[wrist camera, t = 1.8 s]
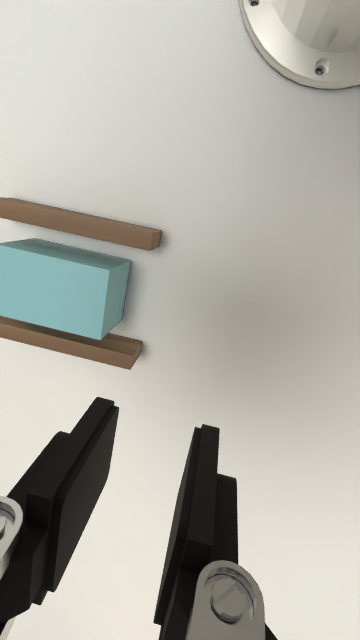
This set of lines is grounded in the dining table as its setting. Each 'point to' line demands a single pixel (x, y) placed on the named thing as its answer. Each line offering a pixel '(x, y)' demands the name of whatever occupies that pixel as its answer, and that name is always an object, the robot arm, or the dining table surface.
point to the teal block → (62, 287)
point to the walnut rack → (110, 346)
